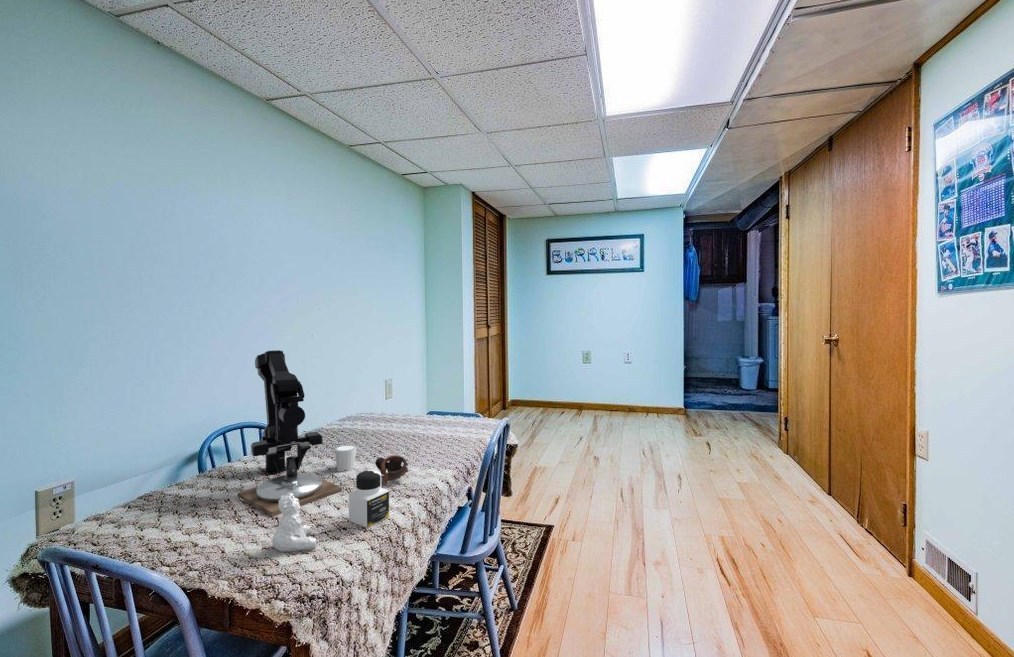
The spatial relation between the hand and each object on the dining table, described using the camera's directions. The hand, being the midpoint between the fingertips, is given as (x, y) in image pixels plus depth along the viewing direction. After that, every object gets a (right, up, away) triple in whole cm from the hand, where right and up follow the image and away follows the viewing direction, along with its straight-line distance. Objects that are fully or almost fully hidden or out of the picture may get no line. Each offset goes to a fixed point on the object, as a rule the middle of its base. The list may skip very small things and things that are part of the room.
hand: (289, 471), depth 132 cm
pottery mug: (+29, -5, +7) cm, 30 cm away
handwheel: (+3, -3, -6) cm, 7 cm away
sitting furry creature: (+18, -6, -33) cm, 38 cm away
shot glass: (+11, -4, +16) cm, 20 cm away
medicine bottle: (+31, -6, -21) cm, 37 cm away
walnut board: (+3, -5, -6) cm, 8 cm away
